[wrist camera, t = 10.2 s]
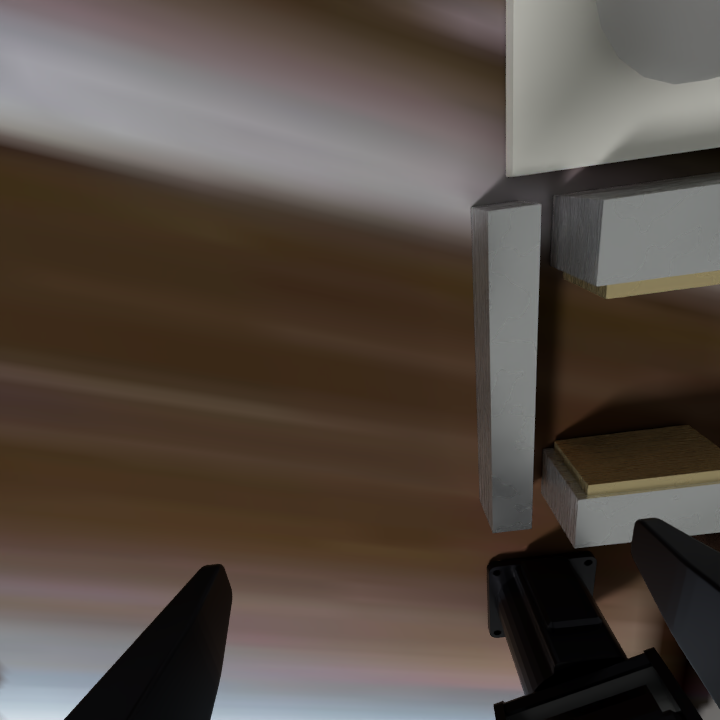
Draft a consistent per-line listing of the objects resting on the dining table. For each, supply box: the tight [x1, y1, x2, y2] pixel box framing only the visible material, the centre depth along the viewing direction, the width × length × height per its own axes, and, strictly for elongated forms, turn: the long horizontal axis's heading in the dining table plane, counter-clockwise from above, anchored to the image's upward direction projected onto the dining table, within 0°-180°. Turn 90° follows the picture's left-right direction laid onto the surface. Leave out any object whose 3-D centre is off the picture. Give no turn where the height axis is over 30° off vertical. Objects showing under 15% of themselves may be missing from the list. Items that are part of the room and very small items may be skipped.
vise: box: [471, 172, 720, 548], centre depth 19 cm, size 16×12×4 cm
